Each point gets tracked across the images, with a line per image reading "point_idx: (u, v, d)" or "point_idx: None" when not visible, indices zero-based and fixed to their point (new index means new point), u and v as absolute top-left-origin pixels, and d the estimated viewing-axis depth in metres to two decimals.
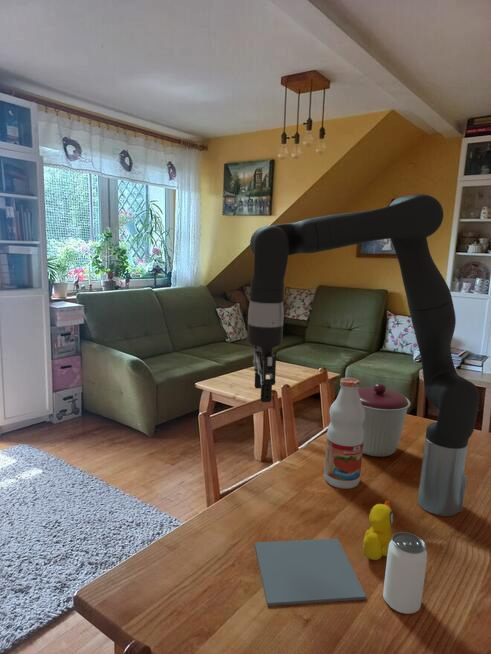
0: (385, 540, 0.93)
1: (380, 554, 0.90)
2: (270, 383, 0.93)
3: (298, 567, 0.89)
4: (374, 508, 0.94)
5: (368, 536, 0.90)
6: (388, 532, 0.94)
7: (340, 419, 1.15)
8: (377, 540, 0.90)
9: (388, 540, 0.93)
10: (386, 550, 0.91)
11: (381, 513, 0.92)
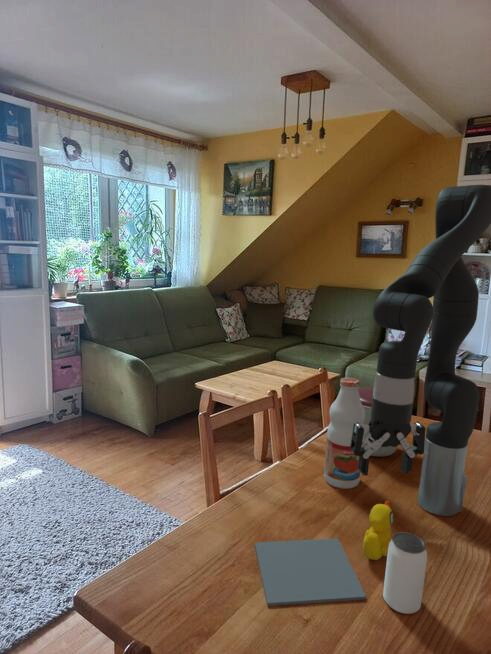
0: (385, 540, 0.93)
1: (380, 554, 0.90)
2: None
3: (298, 567, 0.89)
4: (374, 508, 0.94)
5: (368, 536, 0.90)
6: (388, 532, 0.94)
7: (340, 419, 1.15)
8: (377, 540, 0.90)
9: (388, 540, 0.93)
10: (386, 550, 0.91)
11: (381, 513, 0.92)
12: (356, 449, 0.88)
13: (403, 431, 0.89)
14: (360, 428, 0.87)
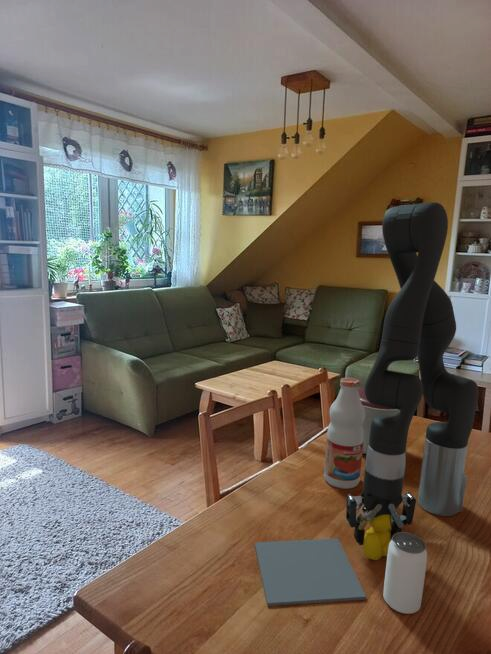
0: (385, 540, 0.93)
1: (380, 554, 0.90)
2: None
3: (298, 567, 0.89)
4: None
5: (368, 536, 0.90)
6: (388, 532, 0.94)
7: (340, 419, 1.15)
8: (377, 540, 0.90)
9: (388, 540, 0.93)
10: (386, 550, 0.91)
11: None
12: (352, 521, 0.91)
13: (394, 501, 0.92)
14: (352, 502, 0.91)
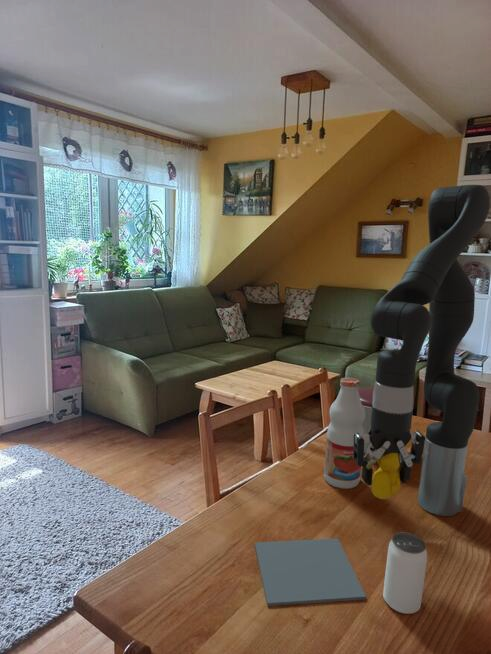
0: (394, 480, 0.90)
1: (389, 493, 0.88)
2: None
3: (298, 567, 0.89)
4: None
5: (377, 474, 0.88)
6: (397, 472, 0.91)
7: (340, 419, 1.15)
8: (386, 478, 0.87)
9: (397, 479, 0.90)
10: (395, 489, 0.88)
11: None
12: (359, 460, 0.89)
13: (403, 438, 0.89)
14: (360, 439, 0.88)
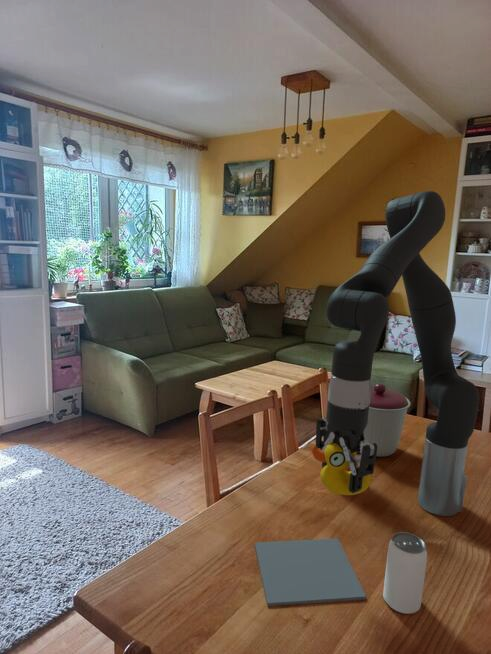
0: None
1: None
2: None
3: (298, 567, 0.89)
4: None
5: None
6: None
7: None
8: None
9: None
10: None
11: None
12: None
13: None
14: None
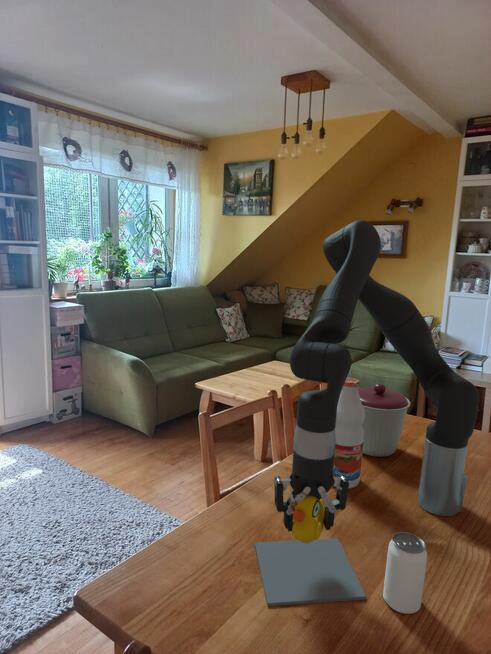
0: None
1: None
2: (276, 506, 0.85)
3: (298, 567, 0.89)
4: None
5: None
6: None
7: (340, 419, 1.15)
8: None
9: None
10: None
11: None
12: None
13: None
14: None
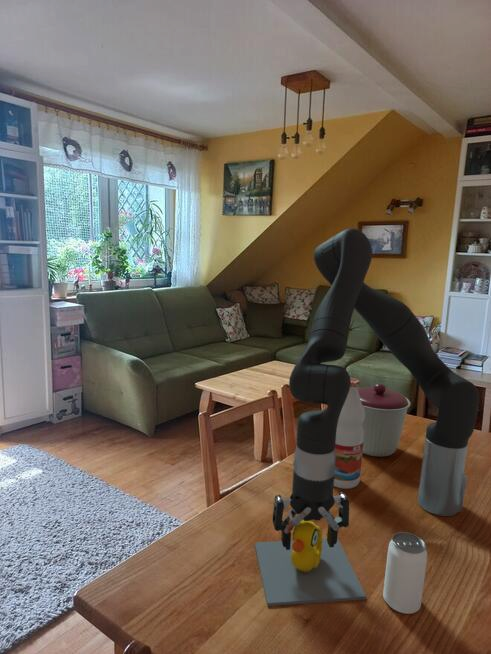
0: None
1: None
2: (274, 525, 0.86)
3: None
4: (314, 525, 0.87)
5: (319, 527, 0.92)
6: None
7: (340, 419, 1.15)
8: None
9: None
10: None
11: None
12: None
13: None
14: None
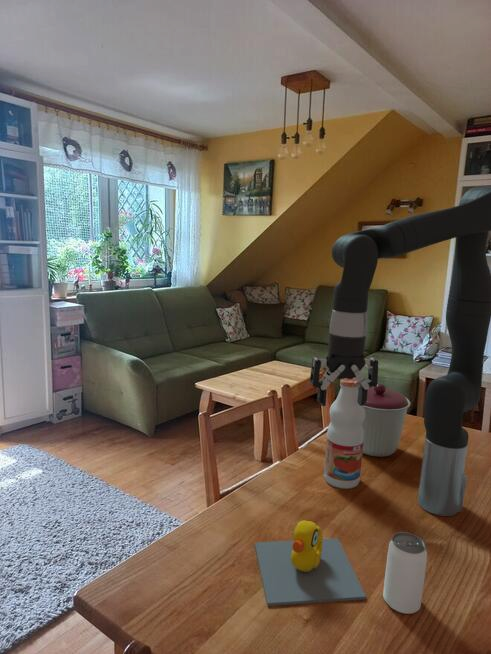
0: None
1: None
2: (311, 383, 0.97)
3: None
4: (314, 525, 0.87)
5: (319, 527, 0.92)
6: None
7: (340, 419, 1.15)
8: None
9: None
10: None
11: (308, 521, 0.88)
12: None
13: None
14: None
